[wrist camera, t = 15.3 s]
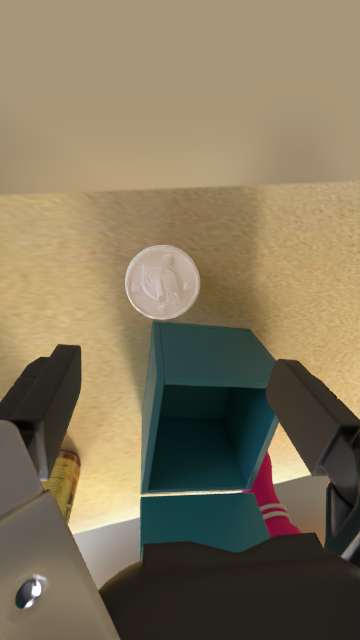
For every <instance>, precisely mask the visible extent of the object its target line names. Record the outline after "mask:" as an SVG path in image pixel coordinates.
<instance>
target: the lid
mask: <svg viewBox="0 0 360 640" xmlns="http://www.w3.org/2000/svg"><path fill="white" fill-rule="evenodd" d="M269 538H271V537H270V534H269V532H268V529H267V527H266V524H265V521H264V519H263V516H262V514H261V511H260V509H259V506H258V504H257V501H256V499H255V496H254V494H253V493H231V494H206V495H180V496H155V497H141V500H140V547H139V548H140V549H139V552H140V553H139V561H140V560H141V554H142V548H143V544H149V543H164V542H179V541H192V542H196V543H200V544H204V545H208V546H212V547H215V548H219V549H223V550H227V551H231V552H236V553H238V552H242V551H245V550H247V549H249V548H251V547H253V546H255V545H257V544H259V543H261V542H263V541H265V540H267V539H269Z"/></svg>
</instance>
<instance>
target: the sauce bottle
mask: <svg viewBox="0 0 360 640" xmlns="http://www.w3.org/2000/svg"><path fill="white" fill-rule="evenodd" d="M80 466H81V465H80V460H79V458H78V456H75V455H74V454H72V453H70V452H66V451H59V453H58V456H57V459H56V461H55V464H54V467H53V470H52V473H51V475H50V478H49V481H41V482H42V485H43V487H44V488H45V490H47V489H49V490H51V492H52V493H53V495H54V497H55V499H56V501H57V503H58V505H59V507H60V509H61V512H62V514H63V516H64V518H65V520H66V522H67V525H68V522H69V518H70V513H71V509H72V505H73V501H74V497H75V492H76V488H77V484H78V480H79V475H80Z"/></svg>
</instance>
